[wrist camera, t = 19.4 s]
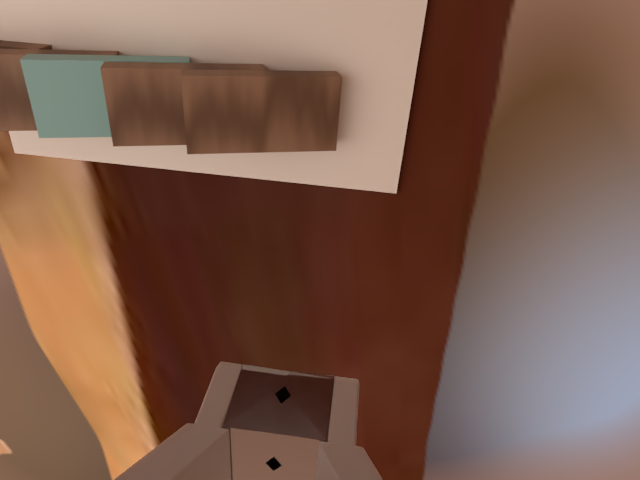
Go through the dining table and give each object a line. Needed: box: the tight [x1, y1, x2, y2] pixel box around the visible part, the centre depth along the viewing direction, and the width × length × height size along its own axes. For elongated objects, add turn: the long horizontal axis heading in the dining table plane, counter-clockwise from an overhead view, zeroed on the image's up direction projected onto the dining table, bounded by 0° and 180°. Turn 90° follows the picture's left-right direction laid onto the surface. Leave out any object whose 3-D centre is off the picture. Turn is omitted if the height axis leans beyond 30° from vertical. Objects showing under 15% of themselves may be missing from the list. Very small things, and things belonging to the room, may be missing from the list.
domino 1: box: [0, 49, 119, 131], centre depth 34 cm, size 5×2×10 cm
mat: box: [0, 0, 428, 193], centre depth 32 cm, size 24×30×1 cm
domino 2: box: [100, 62, 265, 146], centre depth 33 cm, size 5×2×10 cm
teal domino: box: [20, 54, 190, 138], centre depth 33 cm, size 5×2×10 cm
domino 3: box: [181, 69, 342, 154], centre depth 33 cm, size 5×2×10 cm
